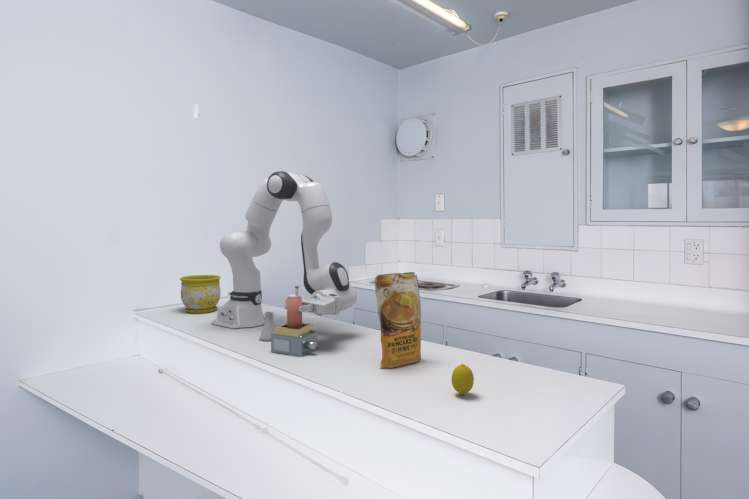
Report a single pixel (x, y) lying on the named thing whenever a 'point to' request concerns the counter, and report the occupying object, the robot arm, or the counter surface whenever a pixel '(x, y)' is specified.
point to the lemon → (462, 379)
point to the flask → (268, 327)
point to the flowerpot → (200, 293)
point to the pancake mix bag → (399, 318)
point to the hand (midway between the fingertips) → (292, 308)
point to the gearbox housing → (294, 340)
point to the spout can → (294, 310)
